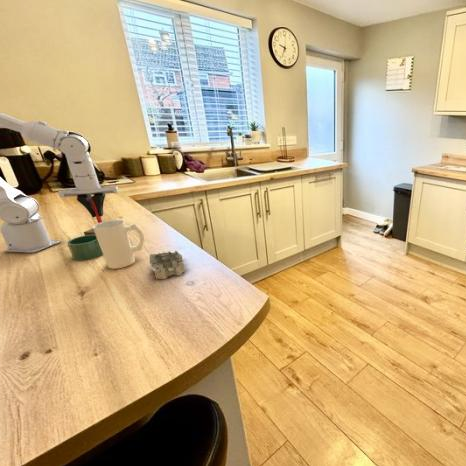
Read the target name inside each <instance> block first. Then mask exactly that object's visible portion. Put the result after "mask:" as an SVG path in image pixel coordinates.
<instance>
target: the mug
mask: <svg viewBox="0 0 466 466" xmlns="http://www.w3.org/2000/svg"><path fill="white" fill-rule="evenodd" d="M92 229H94V232H95V234H96V237H97V240H98V242H99V245H100V247H101V250H102V253H103V255H102V256H103V258H104V260H105V263H106V266H107V267H108V268H109V269H115V270H116V269H122V268H126V267H129V266H131V265H132V264H134V263H135V262H136V259H135V254H134V253H136V252H139V251H142V250H143V247H144V242H145V236H144V233H143V231H142V229H141V228H140V227H139V226H138V225H137V224H136V223H131V224H129V225H126V221H125V220H123V219H111V220H106V221H105V220H104V221H102V222H101V223H98V222H97V223H95V224H93V226H92ZM130 231H135V232H136V233H137V234H138V237H139V241H138V243H137V245H133V246H132V244H131V240H130V236H129V232H130Z"/></svg>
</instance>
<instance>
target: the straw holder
mask: <svg viewBox="0 0 466 466" xmlns="http://www.w3.org/2000/svg"><path fill="white" fill-rule="evenodd" d="M86 235H96V234H95V232H94V229H93V228H91V229H88V230H85V231H83V236H86Z"/></svg>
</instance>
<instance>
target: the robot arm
mask: <svg viewBox="0 0 466 466" xmlns="http://www.w3.org/2000/svg"><path fill="white" fill-rule="evenodd" d="M0 127H2V128H5V129H9V130H11V131H15V132H18V133H21V134H22V135H23V136H24V138H26V140H28V141H31V142H34V143H37V144H40V145H43V146H46V147H49V148H51V149H55V150H60V152H62V154H64V155H65V158H66V162H67V165H68V168H69V171H70V173H71V177H72V180H73V182H74V185H75V188H70V189H60V190H59V191H58V195H59V197H60V198H69V197H76V200H77V202H79V204H81V205H82V206H83V207H84V208H85V209H86V210H87V211H88V213H89V214H90V215H91V217H92V218H96V216H95V213H94V210H93V207H92V204H91V201H90V198H92V200H93V202H94V204H95V206H96V208H97V212H98V215H99V217H100V216H101V217H103V216H104V203H105V199H106V195H107V194H119V192H120V190H119V187H118V186H117V185H116V186H101V185H100V182H99V179H98V175H97V173H96V169H95V167H94V163H93V160H92V159H91V155H90V152H89V151H88V150H89V147H90V146H89V145H90V144H89V142H88V141H87V140H86V139H85V138H84V137H82V136H81V135H79V134H76V133H70V134H69V132H70V131H68V130H66V129H63V130H61V129H58V128H55V127H53V126H50V125H48V122H46V121H43V120H39V121H36V120H30V121H23V120H22V119H18V118H16V117H13V116H11V115H9V114H7V113H6V114H5V113H3V112H0ZM39 211H40V204H39V202H38V201H37V200H36V199H35V198H33V197H31V196H29V195H26V194H25V193H24V192H23V191H21V190H19V189H17V188H14V187H13V186H11V185H9V183H7V182H6V181H5V180H4V179H3V178H2V177H1V176H0V220H1V221H3V223H2V224H1V226H0V233H1V236H2V237H3V240H4V241H5V243H6V246H7V249H5V252H10V253H12V252H13V253H29V254H30V253H31V254H34V253H35V254H36V253H37V252H40V251H42V250H45V249H48V248H50V247H52V246H55V245H57V244H60V240H51V238H50V235H49V233H48V230H47V228H46V226H45V223H44V221H43V219H42V216H41V215H40V214H39V213H38V212H39Z"/></svg>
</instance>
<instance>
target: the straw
mask: <svg viewBox="0 0 466 466" xmlns="http://www.w3.org/2000/svg"><path fill="white" fill-rule="evenodd" d="M90 201H91V204H92V207H93V210H94V213H95V216H96V217H95V219H96V221H97V224H98V223H101V222H103V219H102V216H100V217H99V215H98V212H97V208H96V206H95V204H94V202H93V200H92V198H90Z"/></svg>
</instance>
